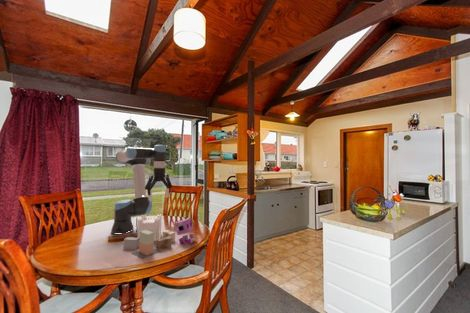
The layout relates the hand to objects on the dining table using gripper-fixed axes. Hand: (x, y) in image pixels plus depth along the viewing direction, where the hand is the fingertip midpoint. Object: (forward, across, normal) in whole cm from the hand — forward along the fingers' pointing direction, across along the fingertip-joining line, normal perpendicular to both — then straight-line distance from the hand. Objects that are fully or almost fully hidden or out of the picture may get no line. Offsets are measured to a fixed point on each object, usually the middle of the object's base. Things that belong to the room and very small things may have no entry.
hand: (158, 198), depth 149 cm
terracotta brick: (+28, -16, -11) cm, 34 cm away
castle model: (+29, 0, +9) cm, 30 cm away
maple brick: (+29, +5, -5) cm, 30 cm away
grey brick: (+29, -17, +3) cm, 34 cm away
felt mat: (+29, -16, -11) cm, 35 cm away
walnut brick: (+29, -5, -13) cm, 32 cm away
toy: (+29, +11, -15) cm, 34 cm away
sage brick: (+22, -16, -11) cm, 30 cm away
